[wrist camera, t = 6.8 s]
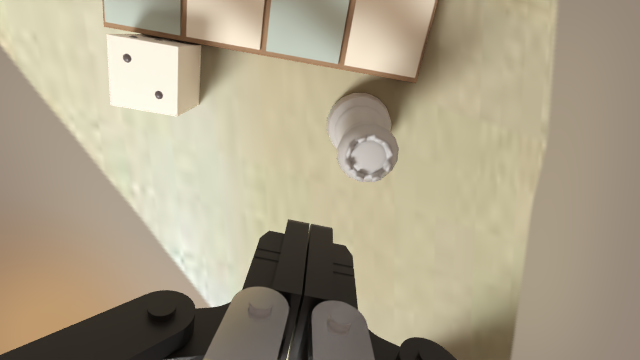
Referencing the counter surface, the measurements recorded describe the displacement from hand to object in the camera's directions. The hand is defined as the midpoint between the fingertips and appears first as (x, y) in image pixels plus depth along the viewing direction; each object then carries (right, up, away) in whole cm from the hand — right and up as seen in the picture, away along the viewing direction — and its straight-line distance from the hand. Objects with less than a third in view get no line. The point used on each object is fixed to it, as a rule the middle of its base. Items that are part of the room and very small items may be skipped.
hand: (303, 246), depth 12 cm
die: (-10, +10, +13) cm, 19 cm away
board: (-2, +14, +11) cm, 18 cm away
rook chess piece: (+3, +6, +14) cm, 15 cm away
